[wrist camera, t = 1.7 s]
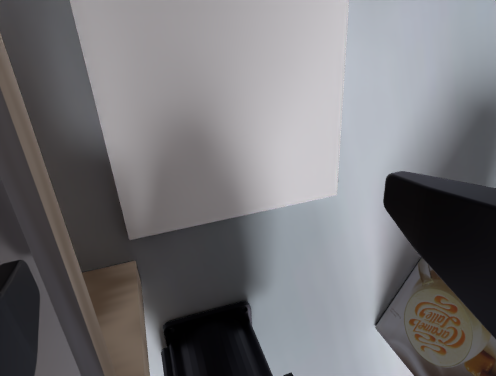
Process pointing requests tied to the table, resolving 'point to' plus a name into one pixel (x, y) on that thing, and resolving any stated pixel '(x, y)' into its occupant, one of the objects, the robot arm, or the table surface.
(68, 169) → the table surface
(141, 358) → the rail
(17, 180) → the lid
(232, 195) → the grey mat
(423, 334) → the coffee box
